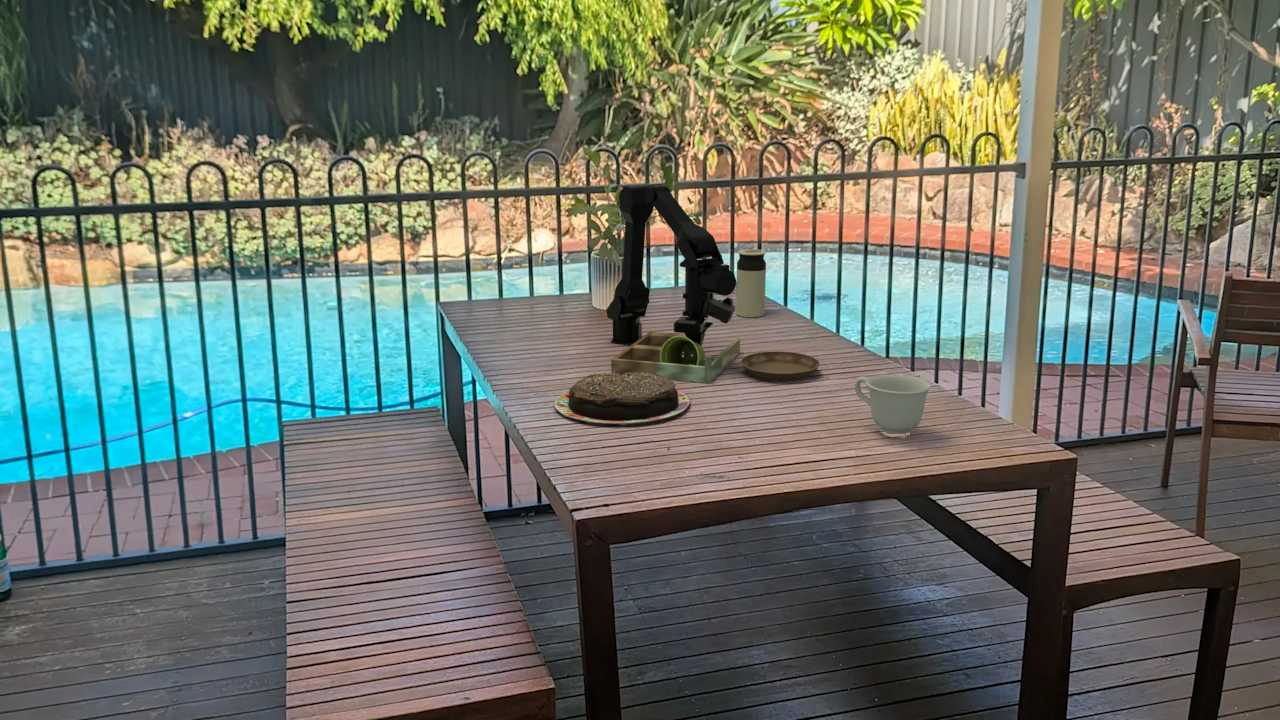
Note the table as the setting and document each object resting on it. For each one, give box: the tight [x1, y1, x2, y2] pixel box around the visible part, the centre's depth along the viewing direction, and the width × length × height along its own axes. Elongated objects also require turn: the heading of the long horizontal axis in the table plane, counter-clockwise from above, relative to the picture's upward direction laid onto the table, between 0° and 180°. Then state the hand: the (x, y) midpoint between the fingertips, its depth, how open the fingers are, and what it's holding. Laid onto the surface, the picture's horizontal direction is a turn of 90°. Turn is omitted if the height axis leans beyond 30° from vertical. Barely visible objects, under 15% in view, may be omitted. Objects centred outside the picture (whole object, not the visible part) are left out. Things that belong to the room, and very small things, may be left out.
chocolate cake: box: [553, 372, 691, 428], centre depth 222 cm, size 28×28×7 cm
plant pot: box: [660, 336, 706, 366], centre depth 246 cm, size 9×9×9 cm
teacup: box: [854, 373, 933, 434], centre depth 205 cm, size 12×15×10 cm
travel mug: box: [735, 248, 767, 319], centre depth 301 cm, size 8×8×18 cm
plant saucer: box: [740, 351, 820, 383], centre depth 246 cm, size 18×18×3 cm
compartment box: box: [610, 331, 741, 384], centre depth 254 cm, size 23×28×6 cm
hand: (697, 354), depth 252 cm, fingers closed
